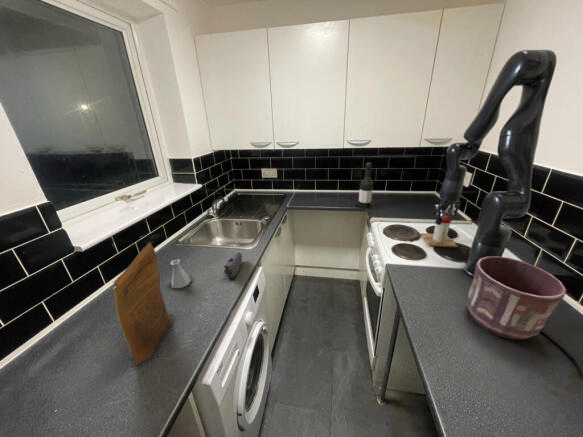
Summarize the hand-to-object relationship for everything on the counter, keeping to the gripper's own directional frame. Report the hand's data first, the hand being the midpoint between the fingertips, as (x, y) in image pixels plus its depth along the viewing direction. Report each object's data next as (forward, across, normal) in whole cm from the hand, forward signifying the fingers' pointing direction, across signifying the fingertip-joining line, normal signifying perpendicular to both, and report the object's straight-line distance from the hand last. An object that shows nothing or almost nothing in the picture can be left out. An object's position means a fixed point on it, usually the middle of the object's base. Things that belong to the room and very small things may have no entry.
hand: (442, 222), depth 109 cm
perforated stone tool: (+10, -98, +16) cm, 99 cm away
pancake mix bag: (+10, -124, -8) cm, 124 cm away
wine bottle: (+10, -4, +54) cm, 55 cm away
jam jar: (+9, 0, 0) cm, 9 cm away
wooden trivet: (+10, 0, 0) cm, 10 cm away
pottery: (+10, -28, -42) cm, 51 cm away
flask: (+10, -119, +16) cm, 120 cm away
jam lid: (-3, 0, 0) cm, 3 cm away
